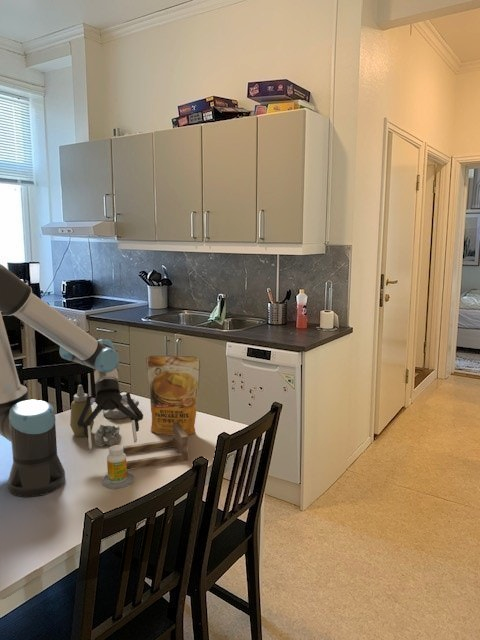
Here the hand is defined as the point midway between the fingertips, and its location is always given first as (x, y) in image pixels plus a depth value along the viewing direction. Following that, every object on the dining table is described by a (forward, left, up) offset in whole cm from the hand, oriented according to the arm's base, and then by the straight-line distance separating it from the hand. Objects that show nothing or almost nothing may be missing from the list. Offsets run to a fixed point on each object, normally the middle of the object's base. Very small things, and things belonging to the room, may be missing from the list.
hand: (113, 444), depth 152 cm
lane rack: (+12, +2, -7) cm, 14 cm away
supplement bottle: (0, -10, -6) cm, 12 cm away
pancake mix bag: (+23, +19, -7) cm, 30 cm away
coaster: (0, -10, -7) cm, 12 cm away
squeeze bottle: (-8, +28, -7) cm, 30 cm away
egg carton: (0, +20, -7) cm, 21 cm away
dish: (+7, +44, -7) cm, 45 cm away
